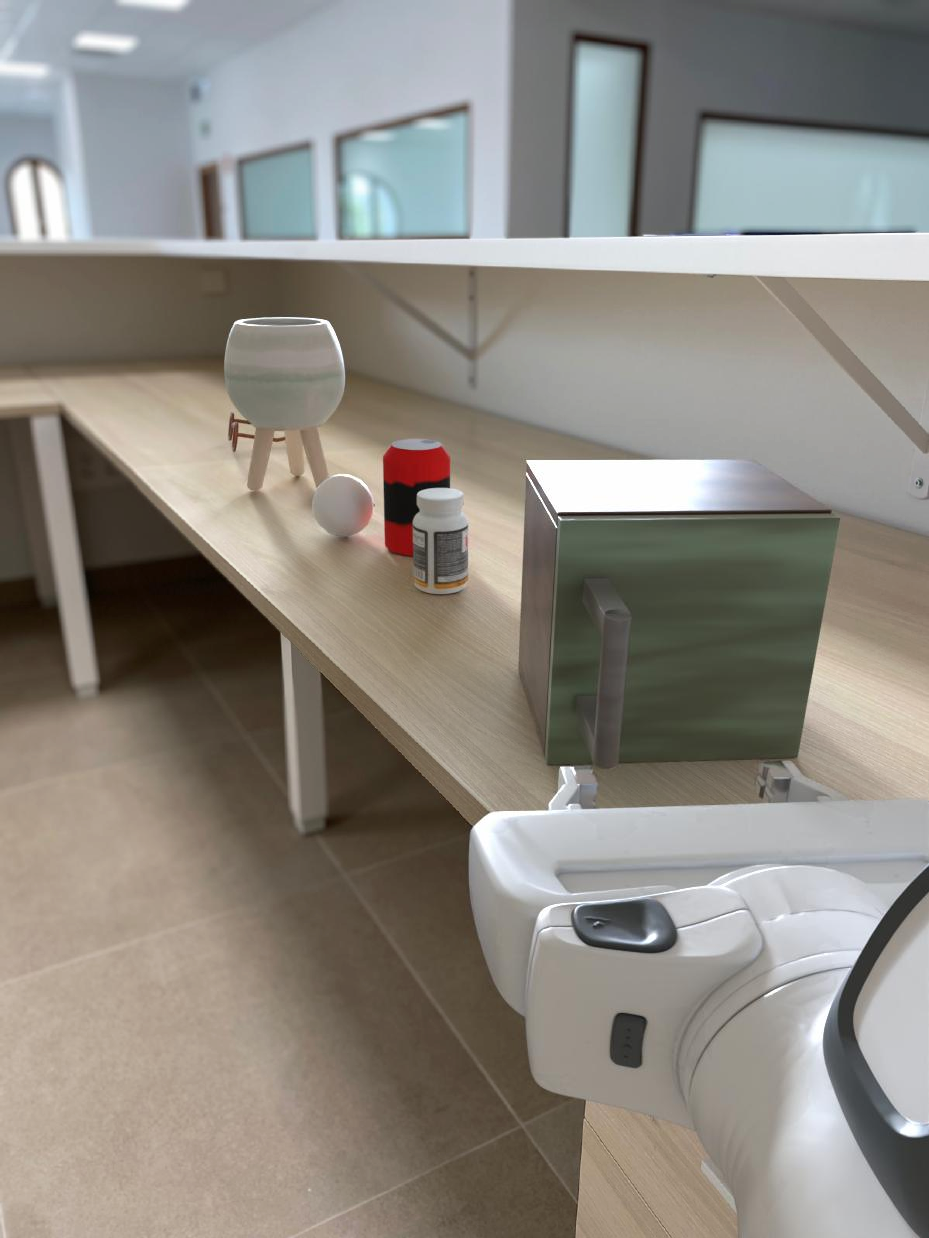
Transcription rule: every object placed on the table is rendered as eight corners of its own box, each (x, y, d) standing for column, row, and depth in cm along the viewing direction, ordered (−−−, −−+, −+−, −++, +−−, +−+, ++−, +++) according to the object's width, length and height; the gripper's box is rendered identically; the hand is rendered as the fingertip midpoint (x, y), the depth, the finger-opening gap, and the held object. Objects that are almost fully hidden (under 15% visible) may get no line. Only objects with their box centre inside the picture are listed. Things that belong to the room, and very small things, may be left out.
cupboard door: (840, 813, 60) (894, 552, 53) (564, 823, 58) (582, 556, 51) (792, 750, 67) (833, 513, 60) (544, 757, 65) (557, 515, 58)
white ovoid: (383, 540, 110) (381, 480, 107) (321, 547, 107) (318, 485, 105) (360, 517, 119) (358, 460, 116) (302, 523, 116) (299, 465, 113)
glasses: (227, 439, 160) (225, 410, 158) (303, 435, 163) (302, 407, 162) (233, 456, 148) (231, 425, 146) (315, 452, 152) (313, 421, 150)
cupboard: (790, 750, 67) (832, 509, 60) (543, 757, 66) (557, 512, 59) (725, 665, 80) (753, 459, 73) (518, 670, 78) (526, 460, 71)
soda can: (463, 545, 109) (464, 444, 104) (419, 561, 103) (418, 455, 99) (415, 532, 113) (415, 434, 108) (371, 547, 108) (368, 444, 103)
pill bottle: (472, 578, 99) (473, 487, 95) (462, 598, 93) (463, 502, 89) (419, 575, 99) (419, 484, 96) (407, 594, 94) (406, 499, 90)
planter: (299, 466, 143) (291, 314, 134) (372, 484, 133) (367, 322, 125) (211, 485, 132) (195, 321, 123) (283, 507, 122) (271, 330, 113)
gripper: (1115, 914, 30) (899, 711, 43) (493, 942, 29) (459, 722, 41) (1063, 1056, 33) (874, 824, 45) (487, 1089, 31) (457, 839, 44)
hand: (673, 775), depth 43 cm, fingers open, 8 cm apart
